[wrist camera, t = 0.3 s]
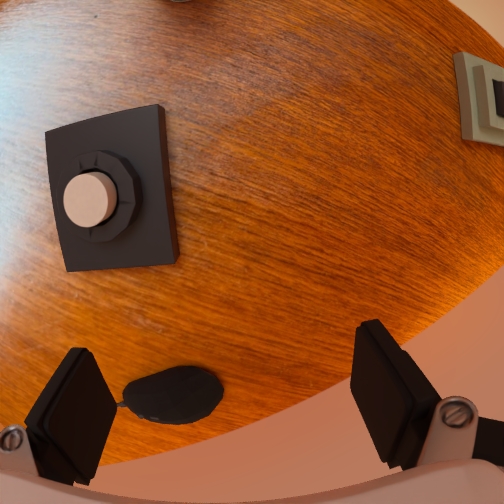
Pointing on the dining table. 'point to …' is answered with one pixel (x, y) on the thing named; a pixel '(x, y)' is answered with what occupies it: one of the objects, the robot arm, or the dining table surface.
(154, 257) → the push button
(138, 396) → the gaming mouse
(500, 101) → the key
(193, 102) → the dining table surface
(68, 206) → the beige button cap
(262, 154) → the dining table surface
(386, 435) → the robot arm
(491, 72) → the beige stepped square frame
